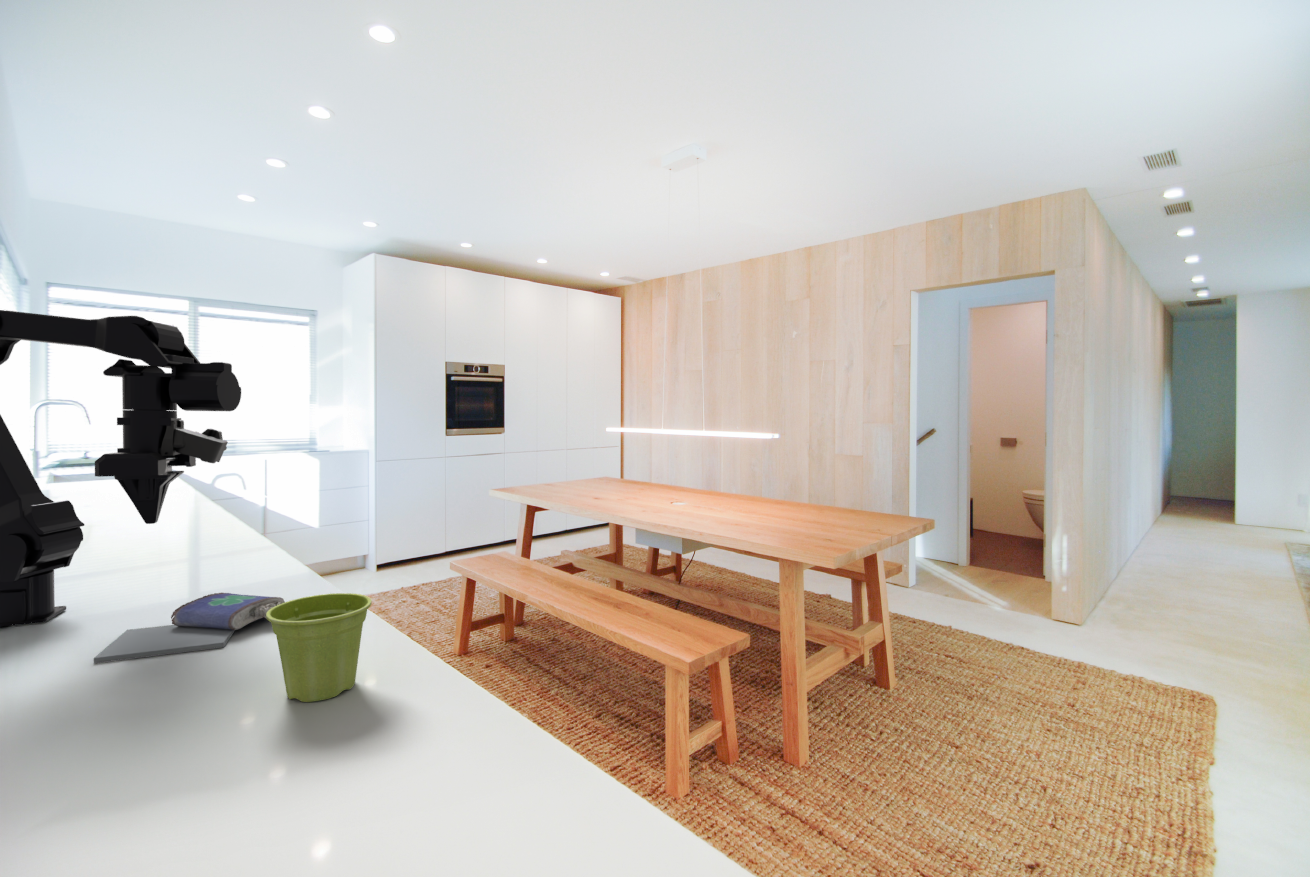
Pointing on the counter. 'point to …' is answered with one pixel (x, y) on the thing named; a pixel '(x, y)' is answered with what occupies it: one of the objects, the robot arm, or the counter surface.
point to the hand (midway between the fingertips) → (151, 523)
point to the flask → (224, 610)
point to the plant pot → (319, 643)
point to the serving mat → (163, 642)
